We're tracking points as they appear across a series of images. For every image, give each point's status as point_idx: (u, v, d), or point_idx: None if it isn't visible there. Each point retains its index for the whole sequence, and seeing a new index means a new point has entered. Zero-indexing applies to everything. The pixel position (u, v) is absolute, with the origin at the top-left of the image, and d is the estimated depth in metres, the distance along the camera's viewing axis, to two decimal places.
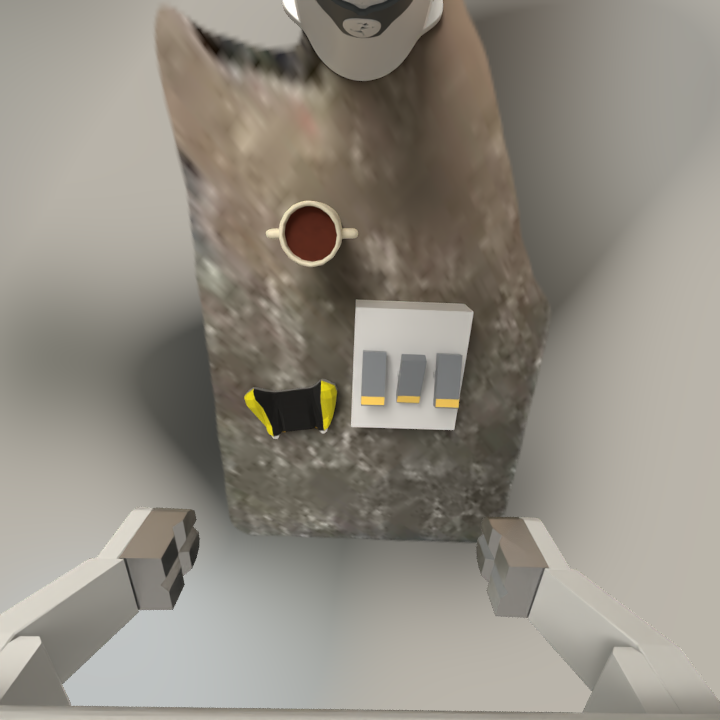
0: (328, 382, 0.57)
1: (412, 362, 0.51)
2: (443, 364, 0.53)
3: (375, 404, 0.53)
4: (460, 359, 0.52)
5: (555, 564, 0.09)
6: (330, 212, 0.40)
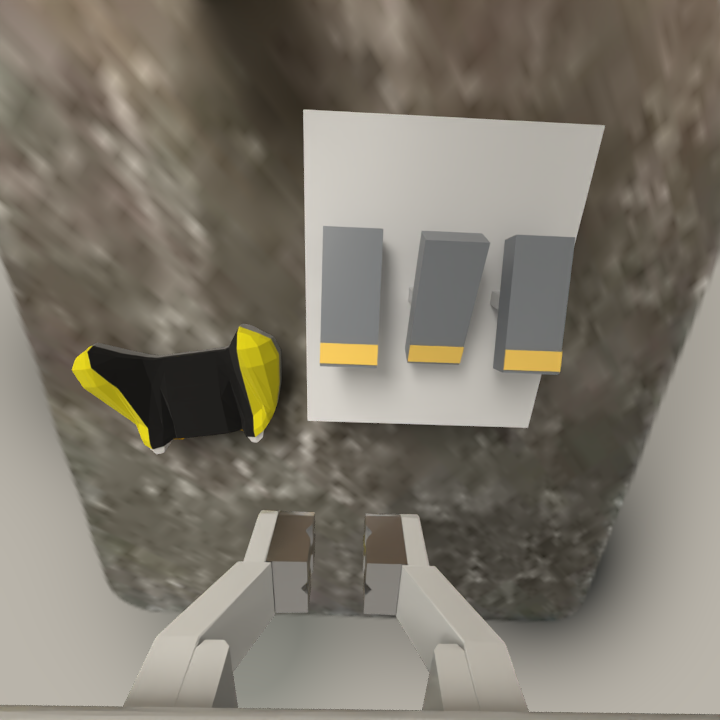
0: (256, 331, 0.26)
1: (451, 246, 0.19)
2: (526, 261, 0.21)
3: (355, 363, 0.21)
4: (569, 248, 0.21)
5: (415, 561, 0.08)
6: None
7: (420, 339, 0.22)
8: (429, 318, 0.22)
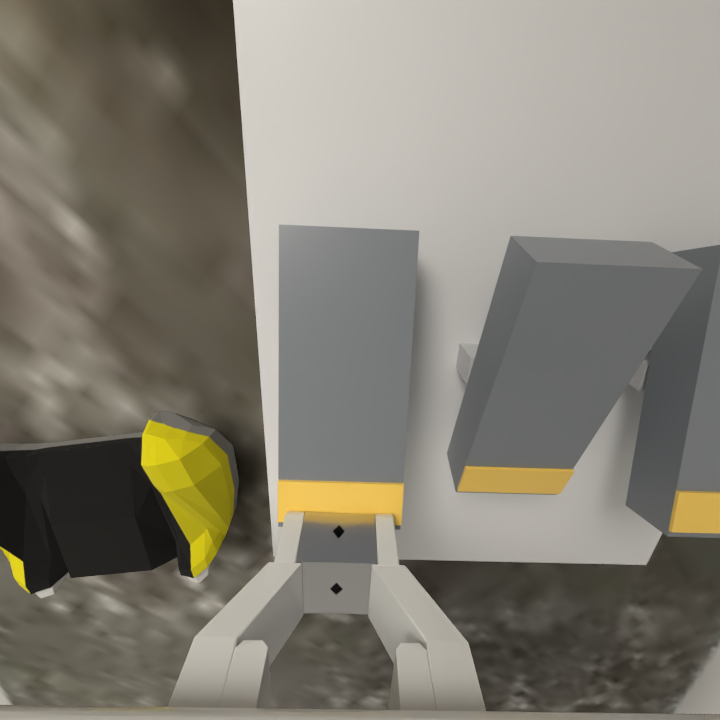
0: (180, 426, 0.15)
1: (599, 277, 0.07)
2: None
3: None
4: None
5: (385, 560, 0.08)
6: None
7: (488, 457, 0.11)
8: (513, 423, 0.10)
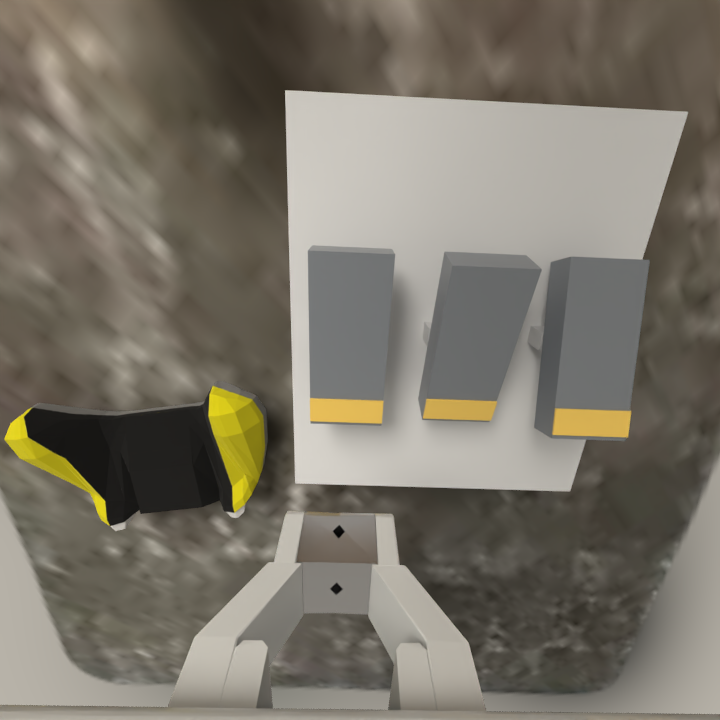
0: (233, 391, 0.21)
1: (488, 274, 0.14)
2: (584, 291, 0.16)
3: (355, 421, 0.17)
4: (642, 274, 0.15)
5: (385, 560, 0.08)
6: None
7: (440, 392, 0.17)
8: (453, 366, 0.16)
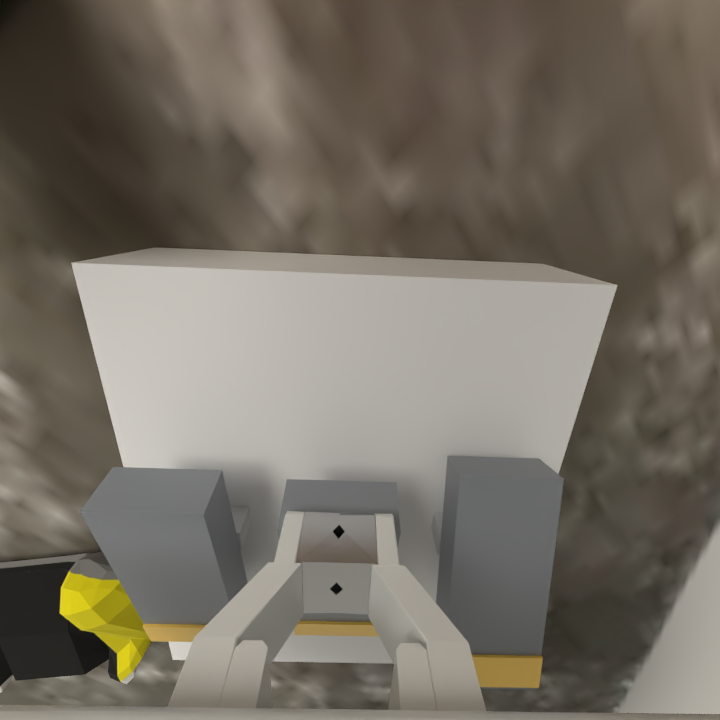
0: (95, 575, 0.18)
1: None
2: (478, 518, 0.12)
3: None
4: (554, 497, 0.12)
5: (385, 560, 0.08)
6: None
7: (308, 616, 0.14)
8: None
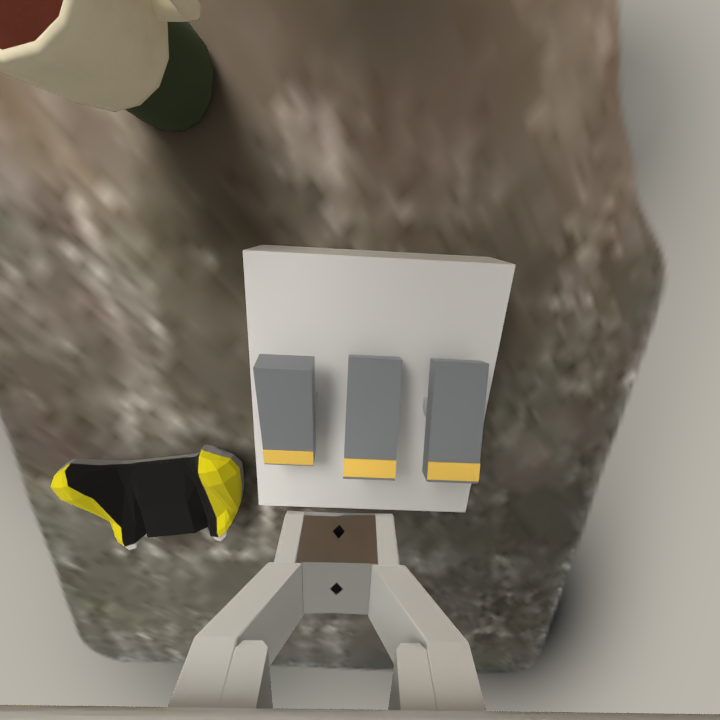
0: (216, 453, 0.29)
1: (370, 362, 0.23)
2: (445, 384, 0.23)
3: (295, 463, 0.25)
4: (484, 373, 0.23)
5: (385, 560, 0.08)
6: None
7: (353, 451, 0.23)
8: (359, 429, 0.23)
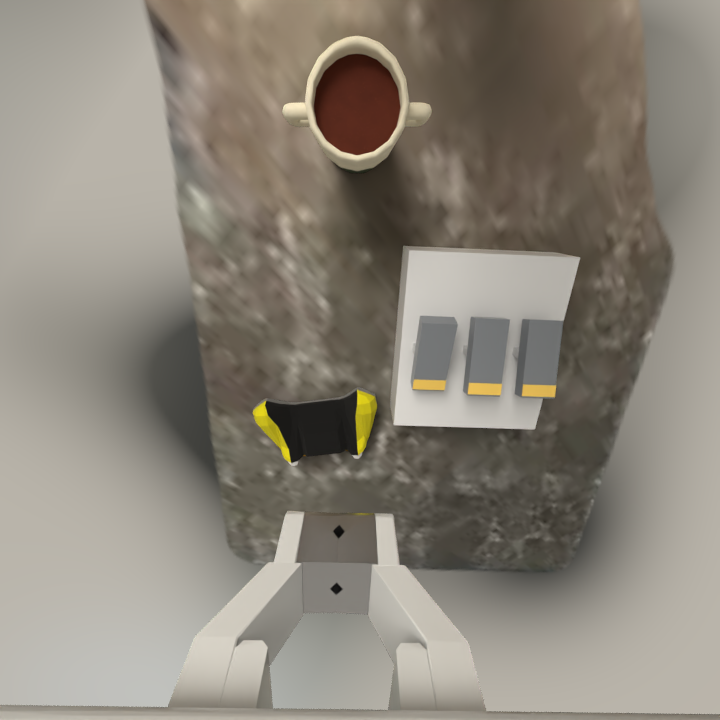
0: (366, 392, 0.42)
1: (489, 321, 0.36)
2: (535, 334, 0.36)
3: (432, 389, 0.38)
4: (560, 327, 0.36)
5: (385, 560, 0.08)
6: (394, 59, 0.23)
7: (475, 378, 0.37)
8: (479, 364, 0.37)
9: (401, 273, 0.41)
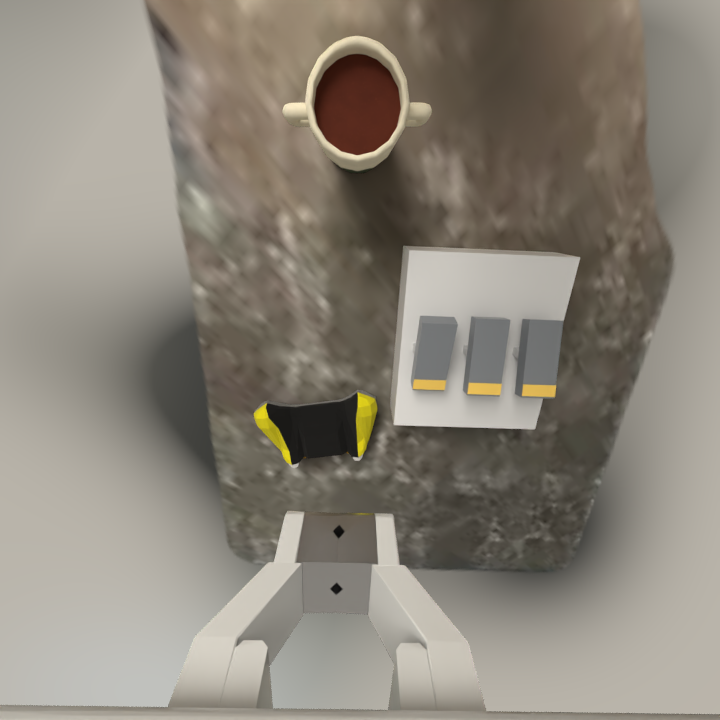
0: (367, 394, 0.43)
1: (490, 322, 0.36)
2: (535, 334, 0.36)
3: (432, 389, 0.38)
4: (560, 326, 0.36)
5: (385, 560, 0.08)
6: (394, 59, 0.23)
7: (475, 378, 0.37)
8: (479, 364, 0.37)
9: (401, 273, 0.41)
